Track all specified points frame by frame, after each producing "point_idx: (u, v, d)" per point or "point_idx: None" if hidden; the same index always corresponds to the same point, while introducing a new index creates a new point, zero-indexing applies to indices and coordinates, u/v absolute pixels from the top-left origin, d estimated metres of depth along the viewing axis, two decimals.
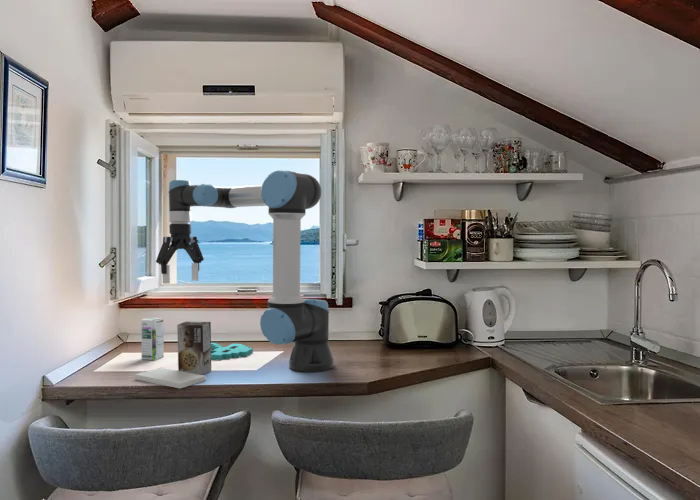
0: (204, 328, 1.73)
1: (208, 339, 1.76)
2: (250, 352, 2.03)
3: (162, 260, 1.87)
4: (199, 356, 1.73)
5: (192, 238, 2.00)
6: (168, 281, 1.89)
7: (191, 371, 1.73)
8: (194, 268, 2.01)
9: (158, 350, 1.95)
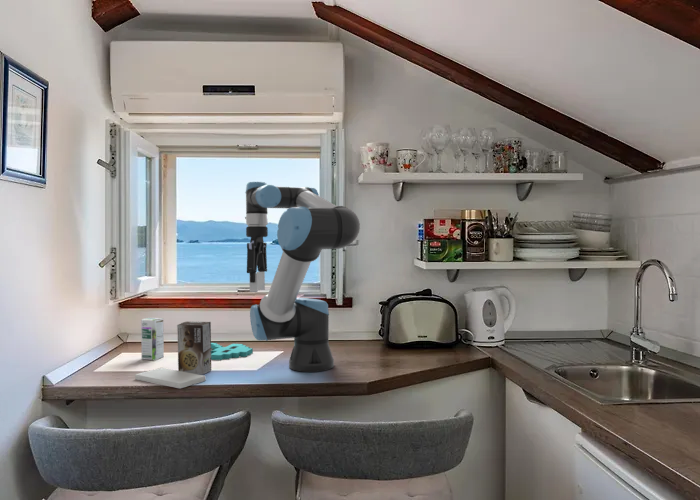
0: (204, 328, 1.73)
1: (208, 339, 1.76)
2: (250, 352, 2.03)
3: (254, 268, 1.85)
4: (199, 356, 1.73)
5: None
6: (256, 289, 1.88)
7: (191, 371, 1.73)
8: (260, 277, 1.95)
9: (158, 350, 1.95)
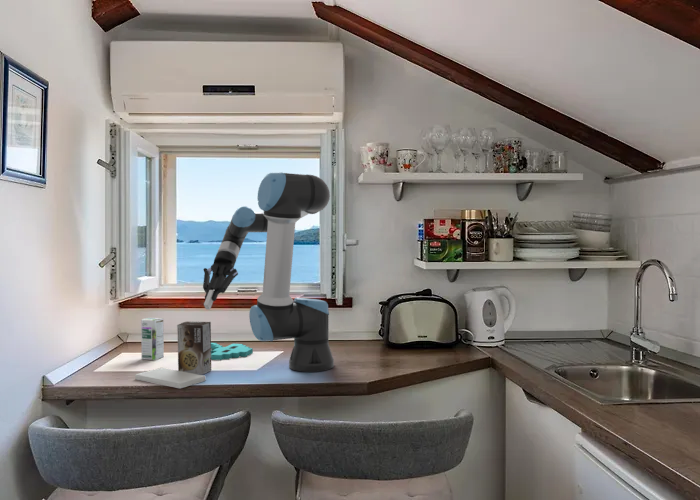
0: (204, 328, 1.73)
1: (208, 339, 1.76)
2: (250, 352, 2.03)
3: (204, 286, 1.90)
4: (199, 356, 1.73)
5: None
6: (205, 303, 1.84)
7: (191, 371, 1.73)
8: None
9: (158, 350, 1.95)
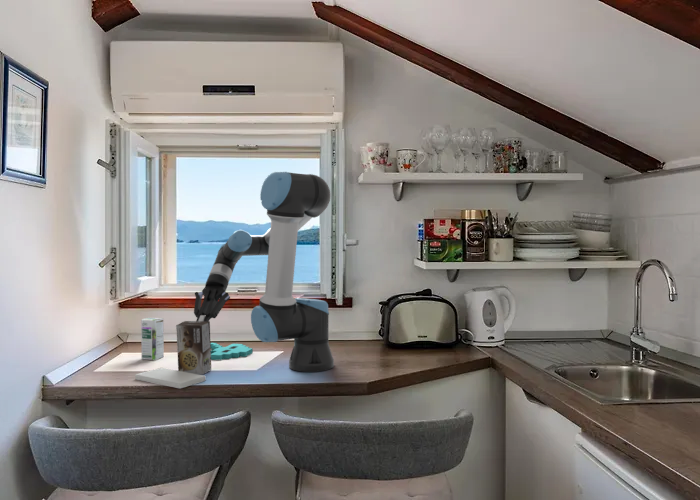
0: (203, 328, 1.73)
1: (207, 338, 1.76)
2: (250, 352, 2.03)
3: (195, 311, 1.85)
4: (199, 356, 1.73)
5: None
6: None
7: (191, 371, 1.73)
8: None
9: (158, 350, 1.95)
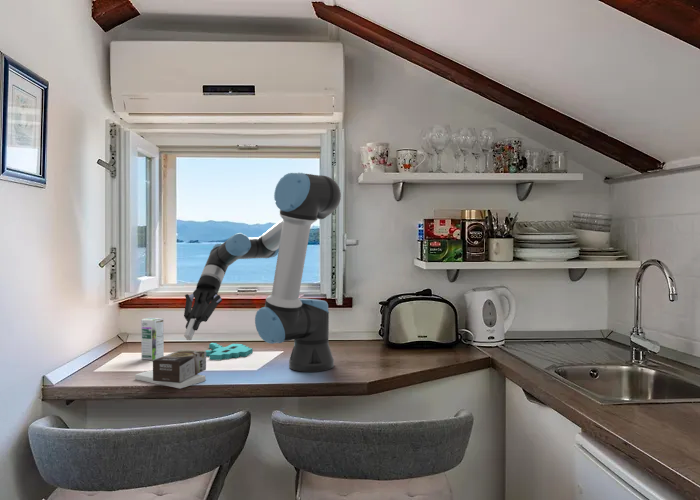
0: (181, 378, 1.58)
1: (189, 365, 1.62)
2: (250, 352, 2.03)
3: (185, 314, 1.77)
4: None
5: None
6: (185, 333, 1.72)
7: None
8: None
9: (158, 350, 1.95)
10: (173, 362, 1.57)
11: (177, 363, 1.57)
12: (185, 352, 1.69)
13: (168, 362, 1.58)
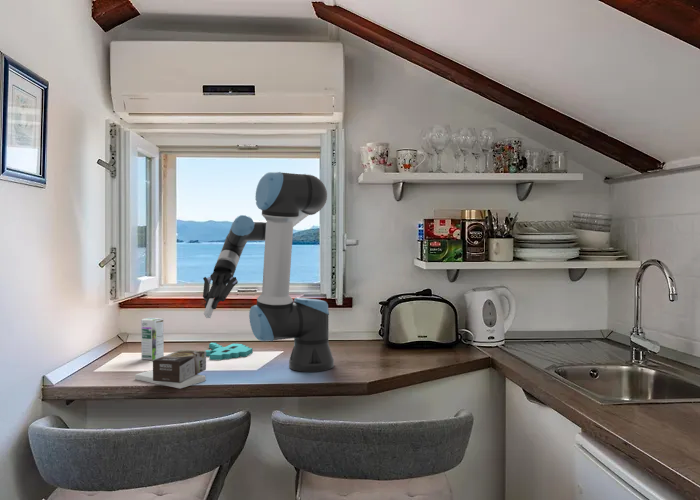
0: (181, 378, 1.58)
1: (189, 365, 1.62)
2: (250, 352, 2.03)
3: (204, 294, 1.90)
4: None
5: None
6: (205, 311, 1.84)
7: None
8: None
9: (158, 350, 1.95)
10: (173, 362, 1.57)
11: (177, 363, 1.57)
12: (185, 352, 1.69)
13: (168, 362, 1.58)
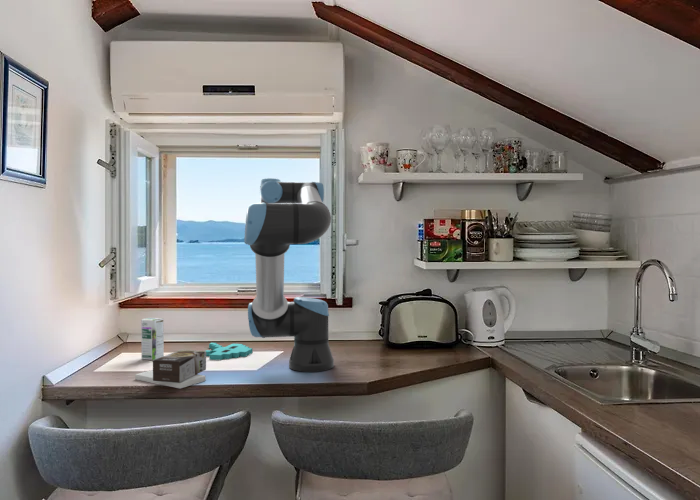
0: (181, 378, 1.58)
1: (189, 365, 1.62)
2: (250, 352, 2.03)
3: None
4: None
5: None
6: None
7: None
8: None
9: (158, 350, 1.95)
10: (173, 362, 1.57)
11: (177, 363, 1.57)
12: (185, 352, 1.69)
13: (168, 362, 1.58)
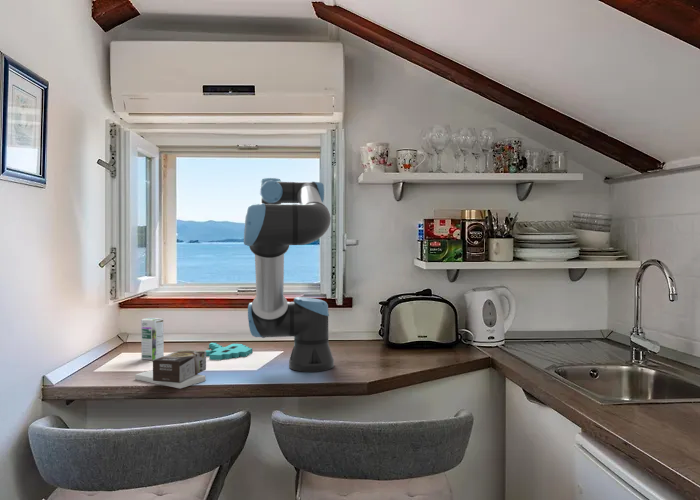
0: (181, 378, 1.58)
1: (189, 365, 1.62)
2: (250, 352, 2.03)
3: None
4: None
5: None
6: None
7: None
8: None
9: (158, 350, 1.95)
10: (173, 362, 1.57)
11: (177, 363, 1.57)
12: (185, 352, 1.69)
13: (168, 362, 1.58)
